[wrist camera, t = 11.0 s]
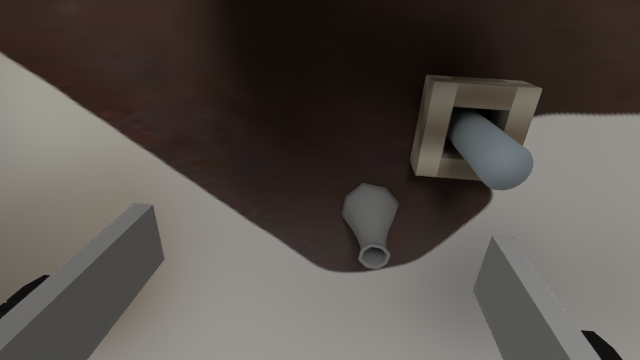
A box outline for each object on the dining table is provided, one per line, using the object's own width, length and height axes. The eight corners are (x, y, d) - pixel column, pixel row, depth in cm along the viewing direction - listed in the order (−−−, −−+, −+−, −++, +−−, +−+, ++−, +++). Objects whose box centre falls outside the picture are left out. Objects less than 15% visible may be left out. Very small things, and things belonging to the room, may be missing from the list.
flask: (409, 199, 42) (424, 249, 33) (377, 238, 45) (383, 293, 36) (360, 172, 41) (363, 217, 32) (331, 214, 44) (326, 265, 35)
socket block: (426, 74, 35) (434, 81, 31) (522, 80, 34) (542, 88, 31) (409, 160, 39) (415, 175, 36) (495, 167, 39) (509, 183, 35)
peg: (447, 105, 36) (487, 142, 25) (484, 108, 36) (540, 146, 25) (439, 139, 38) (473, 187, 27) (474, 142, 38) (523, 192, 27)
